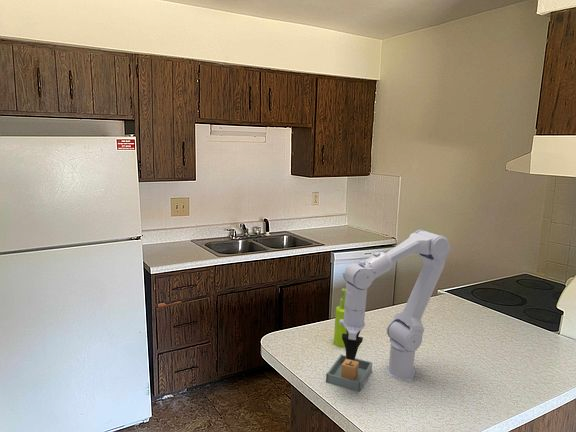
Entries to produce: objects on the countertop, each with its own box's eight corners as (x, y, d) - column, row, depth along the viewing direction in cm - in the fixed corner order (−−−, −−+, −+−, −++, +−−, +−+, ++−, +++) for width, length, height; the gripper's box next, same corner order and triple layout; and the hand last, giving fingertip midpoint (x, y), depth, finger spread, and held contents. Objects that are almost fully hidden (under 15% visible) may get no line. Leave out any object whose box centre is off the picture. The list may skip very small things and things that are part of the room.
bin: (340, 363, 135) (341, 354, 135) (371, 371, 131) (372, 362, 131) (325, 383, 124) (326, 373, 123) (359, 393, 120) (360, 383, 119)
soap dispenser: (353, 350, 144) (357, 293, 141) (332, 347, 146) (336, 291, 142) (354, 342, 150) (358, 287, 147) (334, 339, 151) (338, 285, 148)
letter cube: (345, 371, 130) (346, 358, 129) (358, 374, 128) (358, 361, 128) (340, 377, 127) (341, 364, 126) (354, 380, 125) (355, 367, 124)
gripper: (342, 296, 128) (338, 339, 130) (338, 315, 114) (334, 363, 116) (366, 299, 127) (362, 342, 129) (365, 318, 113) (361, 366, 115)
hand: (351, 352), depth 122 cm, fingers open, 7 cm apart
